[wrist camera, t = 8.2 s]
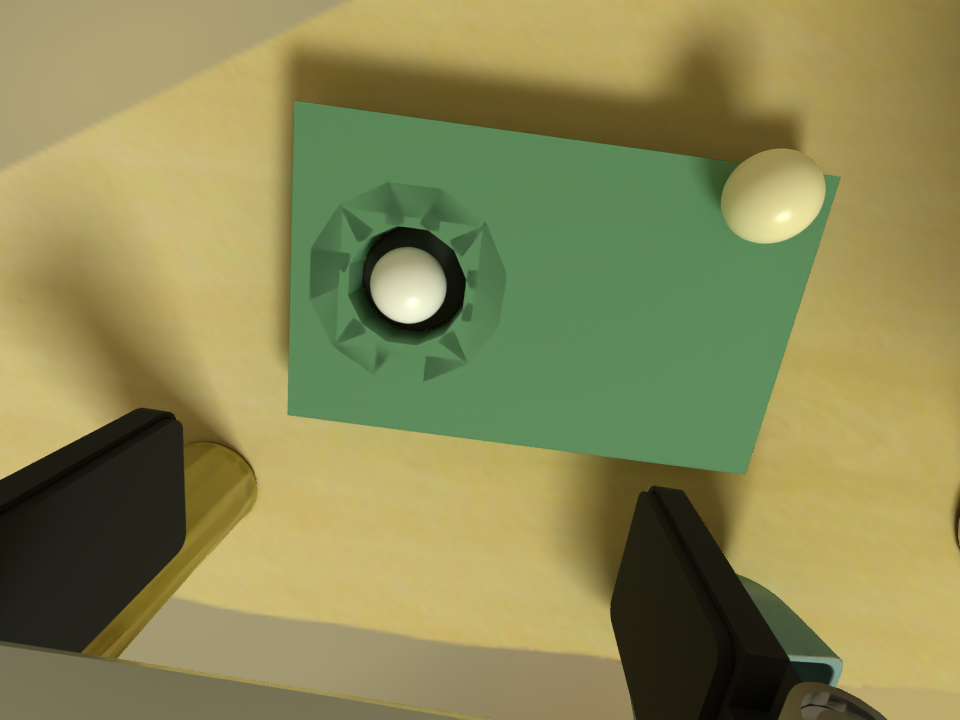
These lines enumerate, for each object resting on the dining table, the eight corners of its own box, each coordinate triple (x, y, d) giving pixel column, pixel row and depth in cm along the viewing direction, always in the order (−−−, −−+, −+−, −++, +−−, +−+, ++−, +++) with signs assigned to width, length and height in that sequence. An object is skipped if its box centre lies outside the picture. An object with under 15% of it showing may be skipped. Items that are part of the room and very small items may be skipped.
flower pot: (757, 543, 33) (849, 661, 25) (728, 648, 36) (803, 788, 27) (624, 533, 33) (670, 646, 25) (605, 639, 36) (640, 775, 27)
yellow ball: (802, 160, 24) (862, 150, 20) (777, 245, 25) (829, 252, 21) (719, 147, 23) (763, 136, 20) (697, 235, 25) (734, 239, 21)
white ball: (437, 246, 28) (461, 256, 25) (430, 314, 30) (451, 333, 26) (366, 239, 27) (381, 248, 23) (361, 311, 28) (375, 331, 25)
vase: (194, 422, 32) (-33, 584, 18) (276, 477, 33) (119, 671, 19) (149, 488, 33) (-94, 684, 19) (228, 539, 34) (51, 760, 20)
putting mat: (803, 180, 27) (840, 176, 24) (722, 450, 31) (745, 474, 28) (315, 112, 26) (294, 100, 23) (306, 395, 31) (287, 415, 28)
